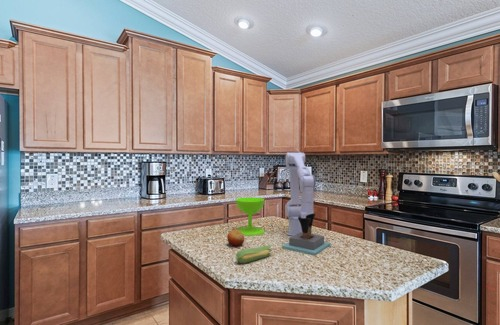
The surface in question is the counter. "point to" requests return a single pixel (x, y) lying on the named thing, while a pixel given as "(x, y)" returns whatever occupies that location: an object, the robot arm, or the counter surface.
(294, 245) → the socket board
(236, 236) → the fruit
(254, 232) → the wineglass
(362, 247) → the counter surface
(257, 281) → the counter surface
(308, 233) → the peg
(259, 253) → the edible corn
